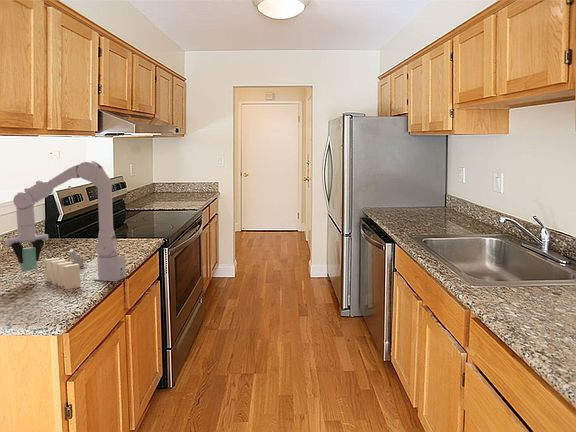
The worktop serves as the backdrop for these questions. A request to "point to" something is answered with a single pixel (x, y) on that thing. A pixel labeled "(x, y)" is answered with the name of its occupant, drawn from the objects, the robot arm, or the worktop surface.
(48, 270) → the domino
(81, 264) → the grey angular flat piece
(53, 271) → the domino
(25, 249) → the end tile
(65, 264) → the domino
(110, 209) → the robot arm
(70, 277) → the domino
